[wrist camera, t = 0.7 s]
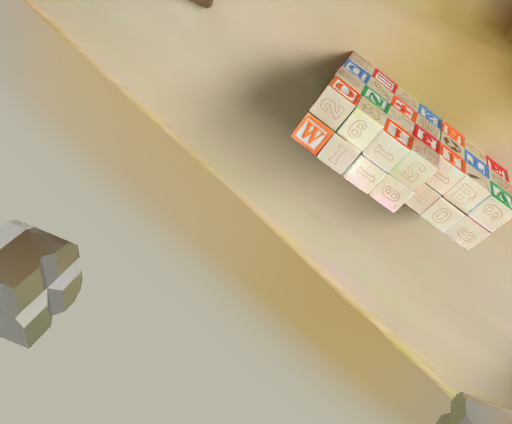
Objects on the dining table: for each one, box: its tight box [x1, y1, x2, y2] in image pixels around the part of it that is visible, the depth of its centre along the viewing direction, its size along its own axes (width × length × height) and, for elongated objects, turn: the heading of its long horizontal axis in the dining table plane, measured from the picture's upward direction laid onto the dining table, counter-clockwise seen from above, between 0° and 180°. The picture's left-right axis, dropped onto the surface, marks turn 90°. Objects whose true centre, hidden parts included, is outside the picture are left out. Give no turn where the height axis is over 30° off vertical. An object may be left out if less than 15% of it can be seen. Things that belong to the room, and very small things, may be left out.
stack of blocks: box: [291, 51, 512, 250], centre depth 46 cm, size 21×6×12 cm, turn 59°
